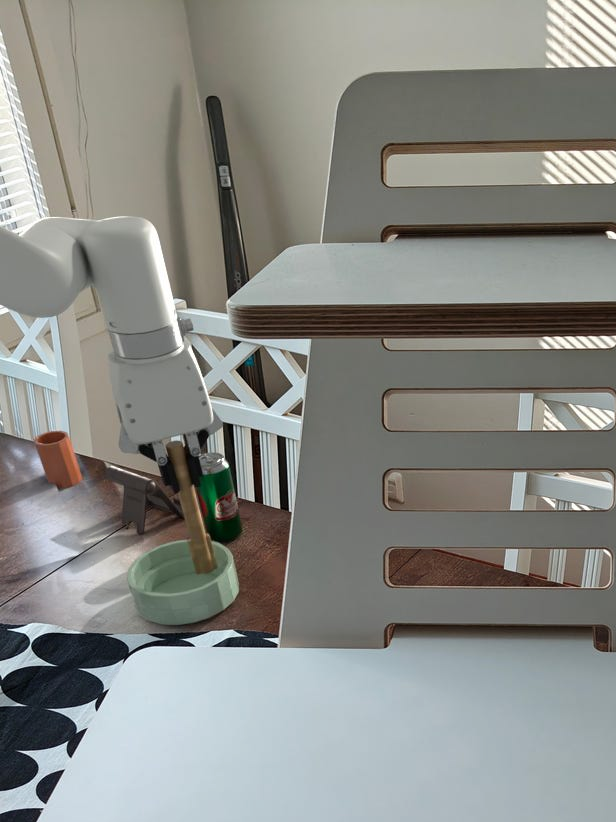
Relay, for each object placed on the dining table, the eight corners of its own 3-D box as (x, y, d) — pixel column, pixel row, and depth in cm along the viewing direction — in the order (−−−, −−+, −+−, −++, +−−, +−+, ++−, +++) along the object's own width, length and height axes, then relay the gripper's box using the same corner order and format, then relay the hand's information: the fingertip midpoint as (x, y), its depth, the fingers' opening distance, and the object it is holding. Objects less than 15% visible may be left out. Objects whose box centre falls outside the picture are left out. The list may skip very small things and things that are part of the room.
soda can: (226, 547, 138) (208, 471, 130) (200, 538, 140) (181, 463, 133) (250, 531, 141) (234, 455, 134) (224, 522, 143) (208, 447, 136)
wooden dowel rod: (198, 577, 126) (164, 450, 115) (194, 569, 127) (160, 443, 116) (219, 570, 127) (187, 444, 116) (214, 563, 128) (183, 437, 117)
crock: (53, 495, 152) (36, 448, 147) (47, 481, 156) (31, 435, 151) (85, 486, 154) (70, 439, 149) (79, 473, 157) (64, 427, 153)
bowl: (151, 640, 121) (140, 608, 118) (126, 589, 130) (116, 557, 127) (253, 607, 126) (246, 575, 123) (222, 560, 135) (215, 529, 132)
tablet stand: (193, 515, 145) (181, 464, 140) (153, 539, 140) (138, 487, 135) (153, 500, 149) (139, 450, 144) (112, 523, 144) (96, 473, 139)
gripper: (206, 314, 114) (237, 457, 125) (67, 344, 108) (112, 491, 119) (226, 333, 109) (256, 481, 120) (80, 365, 103) (126, 517, 114)
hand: (184, 484), depth 120 cm, fingers closed on wooden dowel rod, 2 cm apart
